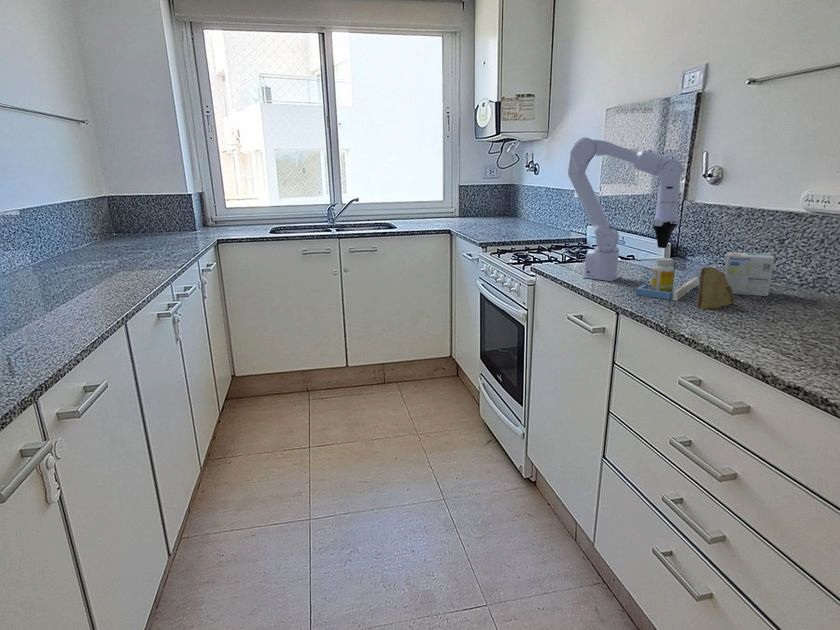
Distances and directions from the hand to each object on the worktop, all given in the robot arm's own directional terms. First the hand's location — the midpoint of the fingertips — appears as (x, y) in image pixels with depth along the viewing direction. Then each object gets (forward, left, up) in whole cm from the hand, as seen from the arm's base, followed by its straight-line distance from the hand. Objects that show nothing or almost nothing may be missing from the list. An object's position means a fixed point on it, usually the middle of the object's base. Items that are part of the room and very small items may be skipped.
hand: (662, 247), depth 154 cm
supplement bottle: (+5, -14, -11) cm, 18 cm away
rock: (+20, -20, -11) cm, 30 cm away
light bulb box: (+23, -1, -11) cm, 25 cm away
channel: (+5, -11, -10) cm, 16 cm away
